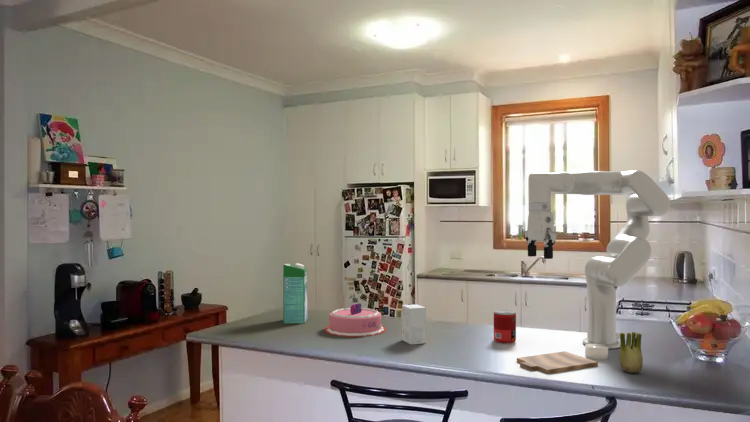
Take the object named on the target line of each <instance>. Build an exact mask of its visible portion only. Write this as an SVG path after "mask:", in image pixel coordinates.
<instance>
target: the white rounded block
mask: <svg viewBox="0 0 750 422" xmlns="http://www.w3.org/2000/svg"><path fill="white" fill-rule="evenodd" d="M584 349H585V350H584V351H585V353H584V354H585V355H584V357H585V358H587V359H590V360H595V361H596V360H597V361H598V360H600V361H601V360H602V361H605V360H608V359H609V349H608V346H605V345H601V344H586V345H585V344H584Z"/></svg>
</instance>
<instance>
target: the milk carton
mask: <svg viewBox="0 0 750 422" xmlns="http://www.w3.org/2000/svg"><path fill="white" fill-rule="evenodd" d="M282 273H283V275H282V276H283V277H282V279H283V280H282V281H283V283H282V285H283V287H282V288H283V289H282V290H283V293H282V295H283V296H282V297H283V299H282V300H283V302H282V303H283V306H282V308H283V310H282V311H283V315H282V316H283V318H282V319H283V321H282V323H283V324H305V323H306V322H307V320H308V267H305V264H301V263H298V262H297V263H295V264H294V263H290V262H286V263H284V264H283V271H282Z"/></svg>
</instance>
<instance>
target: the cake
mask: <svg viewBox="0 0 750 422" xmlns="http://www.w3.org/2000/svg"><path fill="white" fill-rule="evenodd" d="M328 315H329V316H328V325H327V326H325V327H324V329H323V330H324V332H325V333H326V334H328V335H331V336H338V337H345V338H360V337H361V338H363V336H364V335H366V336H365V337H372V335H373V334H375V335H374V336H378V334H379V335H381V334H384V333H386V331H387V328H386V327H385V326H383V324H382V313H381V312H380V311H378V310H376V309H374V308H369V307H362V303H360V302H358V303H355V304H354V303H353V304H351V305H350V307H345V308H343V307H342V308H337V309H336V310H332V312H330V313H329V314H328Z"/></svg>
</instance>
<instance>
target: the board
mask: <svg viewBox="0 0 750 422" xmlns="http://www.w3.org/2000/svg"><path fill="white" fill-rule="evenodd" d="M516 363H519V367H521V368H523V369H525V370H528V371H531V372H532V371H540V372H542V373H545V374H549V375H550V374H555V373H562V372H567V371H574V370H579V369H580V370H582V369H586V368H591V367H598V365H599V362H598V361H596V360H594V359H590V358H587V357H585V356H584V357H583V356H580V355H578V354H574V353H570V352H568V351H557V352H551V353H550V352H549V353H544V354H536V355H529V356H523V357H517V358H516Z"/></svg>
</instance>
